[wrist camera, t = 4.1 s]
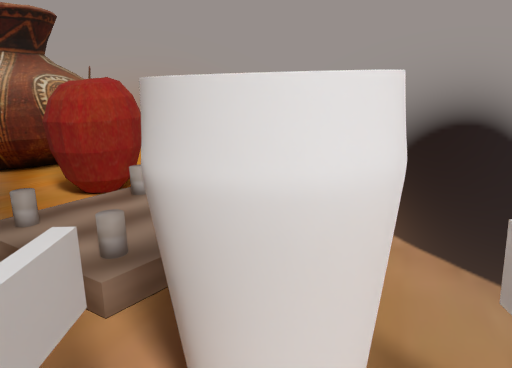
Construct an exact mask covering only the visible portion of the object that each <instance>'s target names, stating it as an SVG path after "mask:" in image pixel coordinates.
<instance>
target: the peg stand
mask: <svg viewBox="0 0 512 368" xmlns="http://www.w3.org/2000/svg"><path fill="white" fill-rule="evenodd" d="M129 171H130V182H131V187H128V188H125V189H121V190H117V191H113V192H109V193H105V194H101V195H97V196H93V197H89V198H85V199H81V200H77V201H73V202H69V203H65V204H62V205H58V206H54V207H50V208H46V209H42V210H38V209H37V202H36V195H35V189H33V188H24V189H17V190H13V191H11V192H10V197H11V204H12V210H13V216H14V217H10V218H6V219H2V220H0V262H1V261H3V260H4V259H6V258H7V257H9V256H10V255H12V254H13V253H15V252H16V251H17V250H19V249H20V248H22V247H23V246H25V245H26V244H28V243H29V242H31V241H32V240H34V239H35V238H37V237H38V236H40V235H41V234H43V233H44V232H45V231H47V230H48V229H50V228H51V227H76V228H77V235H78V243H79V251H80V258H81V266H82V274H83V281H84V289H85V297H86V305H87V308H86V309H87V310H89V311H91V312H94V313H96V314H98V315H100V316H102V317H104V318H107V317H109V316H111V315H113V314H115V313H117V312H119V311H121V310H123V309H125V308H127V307H129V306H131V305H133V304H135V303H137V302H139V301H141V300H142V299H144V298H146V297H148V296H150V295H152V294H154V293H156V292H158V291H160V290H162V289H164V288H166V287H168V284H167V280H166V275H165V271H164V267H163V263H162V258H161V254H160V250H159V246H158V242H157V237H156V233H155V229H154V225H153V221H152V216H151V212H150V208H149V203H148V199H147V195H146V190H145V186H144V182H143V176H142V170H141V165H133V166H130V167H129Z"/></svg>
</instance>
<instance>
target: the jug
mask: <svg viewBox="0 0 512 368" xmlns="http://www.w3.org/2000/svg"><path fill="white" fill-rule="evenodd" d="M56 18H57V16H56V15H55V14H54V13H52V12H50V11H48V10H45V9H42V8H37V7H34V6H30V5H17V4H10V3H2V2H0V170H5V169H19V168H30V167H38V166H45V165H52V164H57V161H56V160H55V158H54V156H53V154H52V153H51V151H50V148H49V144H48V140H47V136H46V133H45V129H44V125H43V117H44V113H45V109H46V105H47V101H48V99H49V98H50V96H51V95H52V93H53V92H54V91H55V89H56V88H57V87H58V85H60V84H62V83H65V82H67V81H69V80H85V79H83V78H81V77H80V76H78V75H77V74H75V73H73V72H71V71H69V70H67V69H65V68H63V67H61V66H59V65H57V64H55V63H54V62H52V61H51V60H50V59H48V58H47V57H46V56H45V55H44V54H45V50H46V45H47V41H48V38H49V36H50V33H51V31H52V28H53V26H54V23H55V20H56Z"/></svg>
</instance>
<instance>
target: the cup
mask: <svg viewBox="0 0 512 368" xmlns="http://www.w3.org/2000/svg"><path fill="white" fill-rule="evenodd" d="M139 85H140V106H141V139H142V140H141V170H142V176H143V182H144V186H145V190H146V195H147V199H148V203H149V208H150V212H151V216H152V221H153V225H154V229H155V233H156V237H157V242H158V246H159V250H160V254H161V258H162V263H163V267H164V271H165V275H166V280H167V284H168V288H169V292H170V296H171V301H172V305H173V309H174V313H175V317H176V322H177V326H178V330H179V334H180V338H181V343H182V347H183V351H184V355H185V359H186V364H187V368H366V366H367V361H368V356H369V351H370V346H371V341H372V337H373V332H374V327H375V322H376V317H377V312H378V307H379V302H380V297H381V292H382V287H383V282H384V277H385V273H386V268H387V263H388V258H389V253H390V248H391V243H392V238H393V233H394V228H395V223H396V218H397V213H398V208H399V203H400V198H401V192H402V188H403V183H404V178H405V172H406V165H407V143H406V105H405V104H406V102H405V70H344V71H343V70H341V71H340V70H338V71H299V72H298V71H296V72H260V73H231V74H230V73H229V74H204V75H203V74H200V75H175V76H154V77H140V78H139Z"/></svg>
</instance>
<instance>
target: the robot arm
mask: <svg viewBox="0 0 512 368" xmlns="http://www.w3.org/2000/svg"><path fill="white" fill-rule="evenodd" d="M500 304H501V305H502V306H503V307H504V308H505V309H506V310H507V311H508V312H509V313H510V314H511V315H512V220H509V227H508V235H507V243H506V253H505V261H504V270H503V278H502V287H501V296H500ZM86 308H87V305H86V297H85V289H84V281H83V274H82V266H81V258H80V251H79V243H78V235H77V228H76V227H51V228H50V229H48V230H47V231H45V232H44V233H43V234H41V235H40V236H38V237H37V238H35V239H34V240H32V241H31V242H29V243H28V244H26V245H25V246H23V247H22V248H20V249H19V250H17V251H16V252H15V253H13V254H12V255H10V256H9V257H7V258H6V259H4V260H3V261H1V262H0V368H39V367H40V365H41V364H42V363H43V362H44V360H45V359H46V358H47V357H48V355H49V354H50V353H51V352H52V350H53V349H54V348H55V347H56V345H57V344H58V343H59V342H60V340H61V339H62V338H63V337H64V335H65V334H66V333H67V332H68V330H69V329H70V328H71V327H72V325H73V324H74V323H75V322H76V320H77V319H78V318H79V317H80V315H81V314H82V313H83V312H84V310H85V309H86Z"/></svg>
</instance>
